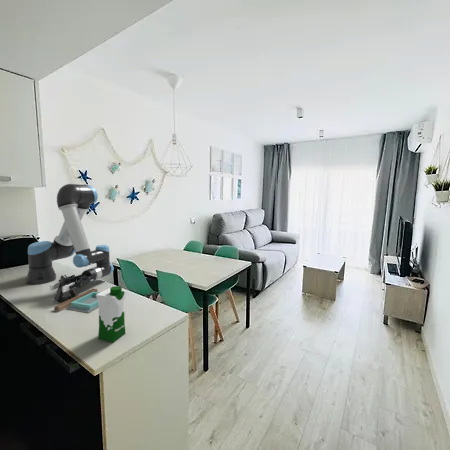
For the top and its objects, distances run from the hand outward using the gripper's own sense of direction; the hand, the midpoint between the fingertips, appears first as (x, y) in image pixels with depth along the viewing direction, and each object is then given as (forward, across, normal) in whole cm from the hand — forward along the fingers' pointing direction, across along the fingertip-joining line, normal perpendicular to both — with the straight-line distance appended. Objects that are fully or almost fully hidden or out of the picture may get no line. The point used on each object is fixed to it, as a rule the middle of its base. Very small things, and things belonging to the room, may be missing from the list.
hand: (56, 288), depth 126 cm
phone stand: (-5, 0, -7) cm, 9 cm away
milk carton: (+17, -45, -8) cm, 49 cm away
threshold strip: (-5, -8, -7) cm, 12 cm away
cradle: (-5, -16, -7) cm, 18 cm away
